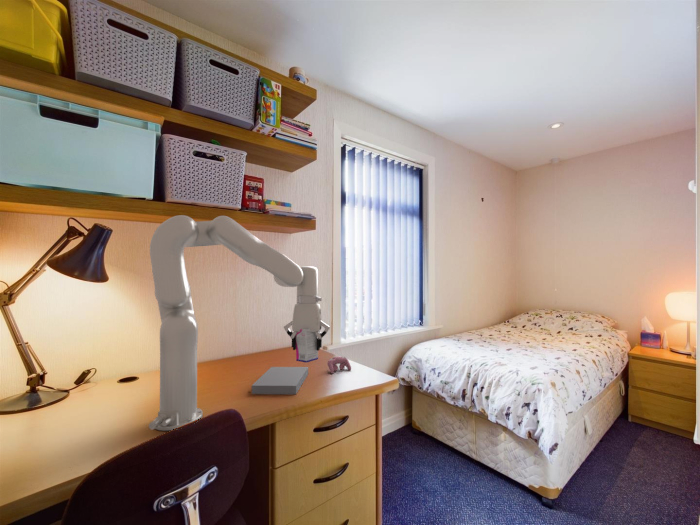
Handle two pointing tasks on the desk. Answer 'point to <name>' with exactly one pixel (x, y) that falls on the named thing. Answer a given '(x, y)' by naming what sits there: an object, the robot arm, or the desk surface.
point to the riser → (280, 380)
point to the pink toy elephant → (338, 360)
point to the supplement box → (306, 346)
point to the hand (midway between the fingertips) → (306, 349)
